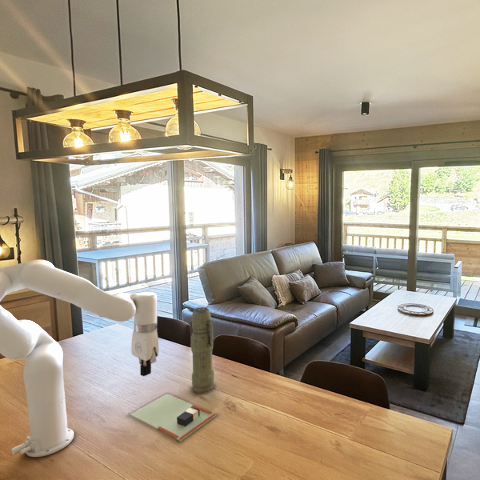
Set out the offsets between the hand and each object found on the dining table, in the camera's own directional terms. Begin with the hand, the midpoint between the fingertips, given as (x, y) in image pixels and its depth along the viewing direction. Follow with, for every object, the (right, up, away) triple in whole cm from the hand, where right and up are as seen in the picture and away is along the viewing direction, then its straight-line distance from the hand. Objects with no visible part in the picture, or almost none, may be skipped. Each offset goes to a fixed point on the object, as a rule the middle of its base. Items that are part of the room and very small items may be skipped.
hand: (145, 374), depth 128 cm
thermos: (+15, -14, +20) cm, 28 cm away
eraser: (+17, -16, -2) cm, 23 cm away
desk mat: (+10, -16, +1) cm, 19 cm away
